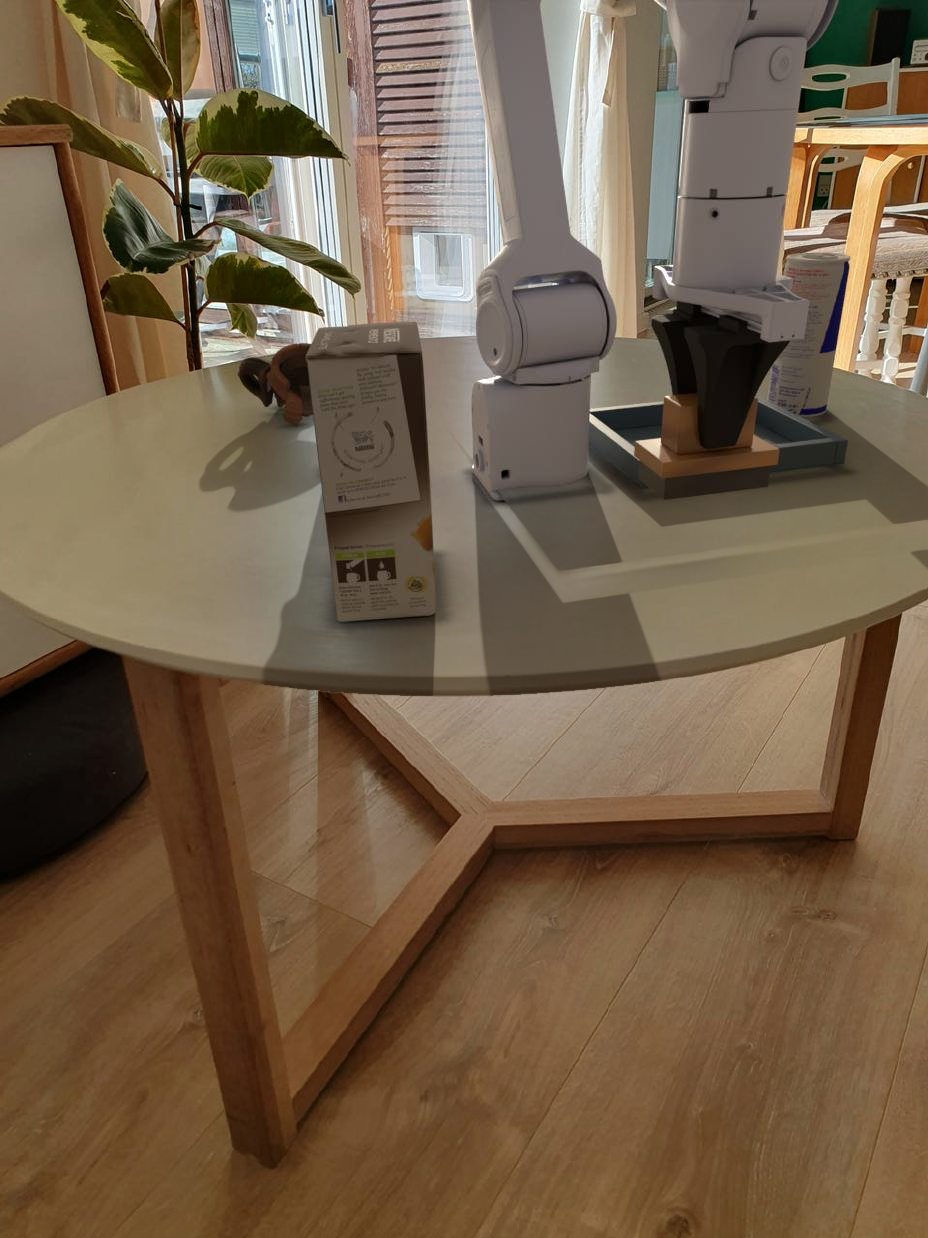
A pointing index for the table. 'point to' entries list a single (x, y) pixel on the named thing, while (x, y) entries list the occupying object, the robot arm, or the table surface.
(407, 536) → the coffee box
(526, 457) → the robot arm
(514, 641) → the table surface
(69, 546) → the table surface
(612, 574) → the table surface
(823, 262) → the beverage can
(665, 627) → the table surface
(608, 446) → the tray
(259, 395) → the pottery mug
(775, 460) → the brush
